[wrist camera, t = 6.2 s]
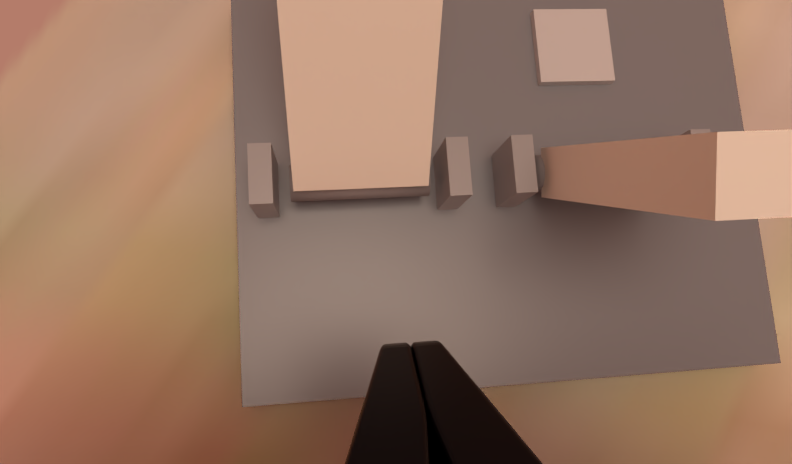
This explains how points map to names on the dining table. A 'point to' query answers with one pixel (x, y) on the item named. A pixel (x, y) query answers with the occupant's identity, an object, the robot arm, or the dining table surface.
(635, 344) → the switch unit
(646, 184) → the unmarked lever
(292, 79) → the marked lever
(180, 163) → the dining table surface
